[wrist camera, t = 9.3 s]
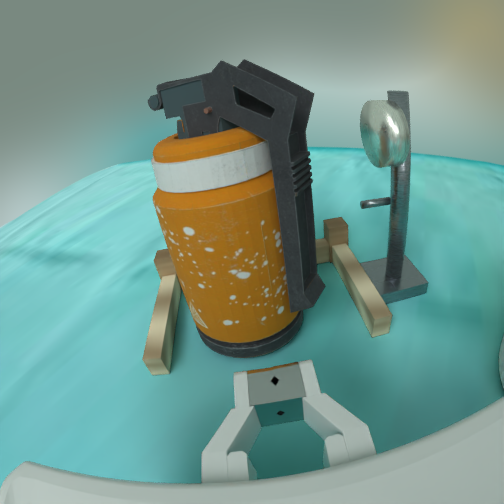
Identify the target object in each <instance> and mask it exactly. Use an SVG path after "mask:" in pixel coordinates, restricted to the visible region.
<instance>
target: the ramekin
mask: <svg viewBox="0 0 504 504" xmlns="http://www.w3.org/2000/svg"><path fill="white" fill-rule="evenodd" d="M499 372H500V378H501V382H502V386H503V389H504V335H503V339H502V343H501V347H500V351H499Z"/></svg>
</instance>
